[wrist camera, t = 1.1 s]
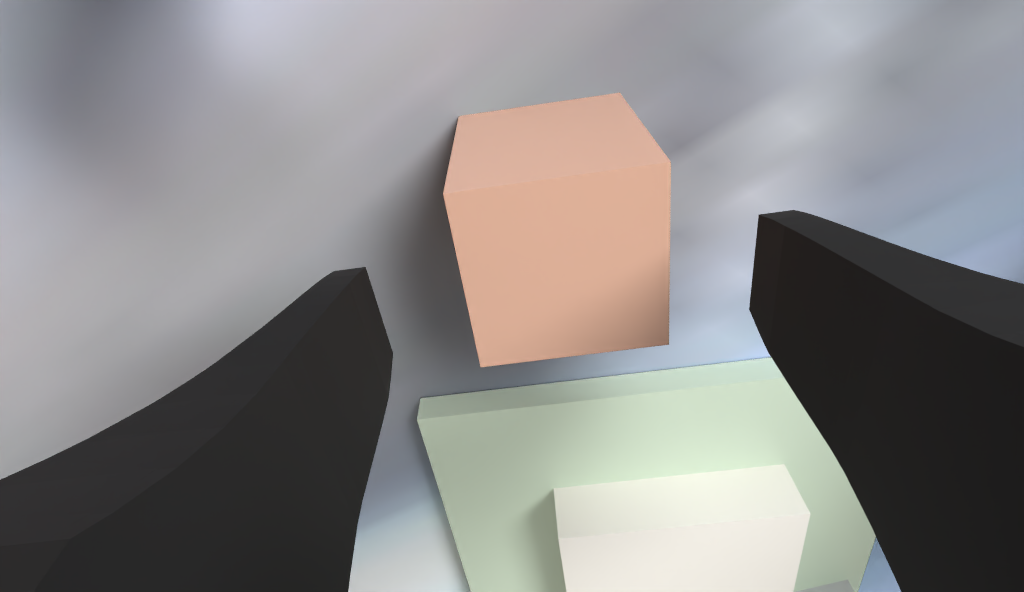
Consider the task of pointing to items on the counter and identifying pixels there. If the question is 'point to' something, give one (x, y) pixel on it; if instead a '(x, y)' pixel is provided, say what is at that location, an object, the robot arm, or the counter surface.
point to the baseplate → (626, 462)
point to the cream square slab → (684, 533)
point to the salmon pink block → (561, 229)
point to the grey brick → (832, 587)
